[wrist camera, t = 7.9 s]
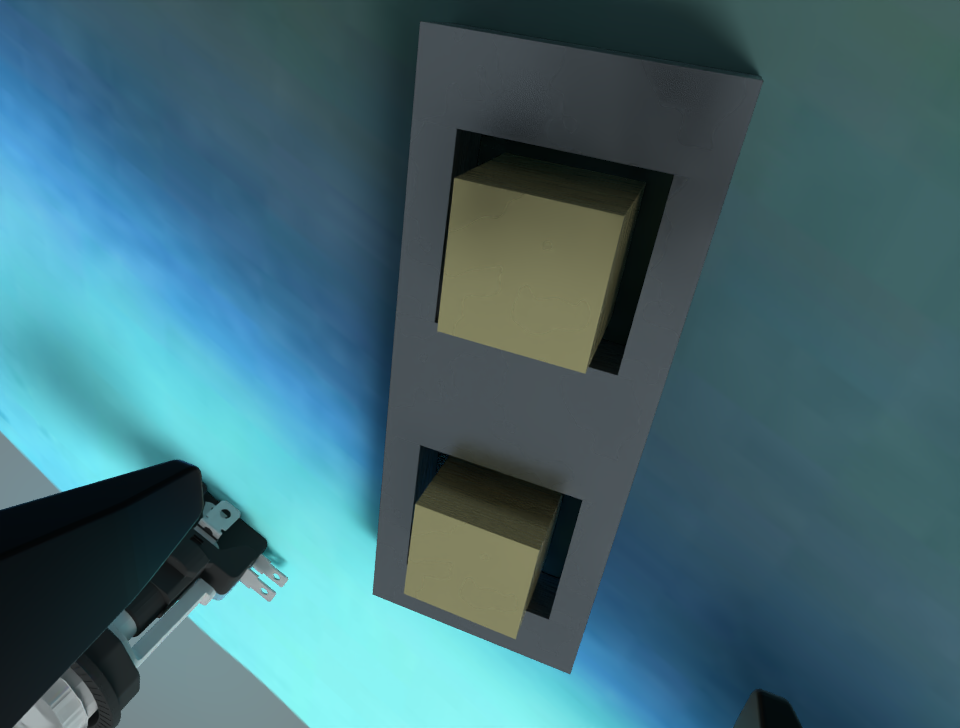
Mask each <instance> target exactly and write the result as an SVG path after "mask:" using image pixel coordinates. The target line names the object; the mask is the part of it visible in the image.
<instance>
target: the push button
mask: <svg viewBox="0 0 960 728" xmlns="http://www.w3.org/2000/svg"><path fill="white" fill-rule="evenodd" d="M202 489H203V501H204V505H203V510H202V512H201V515H200V516H199V518H198V520H197V521H196V522H195V523H194V525H193V526H192V527H191V529H190V530H189V531H188V532H187V534H186V535H185V536H184V538H183V539H182V540H181V541H180V543H179V544H178V545H177V547H176V548H175V549H174V550H173V552H172V553H171V554H170V555H169V557H168V558H167V559H166V561H165V562H164V563H163V564H162V566H161V567H160V568H159V570H158V571H157V572H156V573H155V575H154V576H153V577H152V579H151V580H150V581H149V582H148V583H147V585H146V586H145V587H144V588H143V589H142V591H141V592H140V593H139V594H138V595H137V596H136V597H135V599H134V600H133V601H132V602H131V603H130V604H129V605H128V606H127V607H126V608H125V609H124V610H123V612H122V613H121V614H120V615H119V616H118V617H117V618H116V619H115V620H114V621H113V622H112V623H111V624H110V625H109V626H108V627H107V628H106V629H105V631H104V632H103V633H102V634H101V635H100V636H99V637H98V638H97V639H96V640H95V641H94V642H93V643H92V644H91V645H90V646H89V647H88V649H87V650H86V651H85V652H84V653H83V654H82V655H81V656H80V657H79V658H78V659H77V660H76V661H75V662H74V663H73V664H72V665H71V667H70V668H69V669H68V670H67V671H66V672H65V673H64V674H63V675H62V676H61V677H60V678H59V679H58V680H57V681H56V682H55V683H54V684H53V686H52V687H51V688H50V689H49V690H48V691H47V692H46V693H45V694H44V695H43V696H42V697H41V698H40V699H39V700H38V701H37V702H36V704H35V705H34V706H33V707H32V708H31V709H30V710H29V711H28V712H27V713H26V714H25V715H24V716H23V717H22V718H21V719H20V720H19V721H18V723H17V724H16V725H15V726H14V728H115V727H116V726H117V725H118V723H119V721H120V718H121V710H122V709H123V708H124V707H125V706H126V705H127V704H128V702H129V701H130V700H131V699H132V698H133V697H134V696H135V695H136V694H137V692H138V691H139V688H140V675H139V672H138V670H137V668H138V667H139V665H140V664H141V663H142V662H143V661H144V660H145V659H146V658H147V657H148V656H149V655H150V654H151V653H152V652H153V651H154V650H155V649H156V648H157V646H158V645H160V644H161V643H162V641H163V640H164V639H165V638H166V637H167V636H168V635H169V634H170V633H171V632H172V631H173V630H174V629H175V628H176V627H177V626H178V625H179V624H180V623H181V622H182V620H184V618H185V617H186V616H187V615H188V614H189V613H190V612H191V611H192V610H193V609H194V608H195V607H196V606H197V605H198V604H199V603H201V604H202V605H207V604H208V603H209V602H210V601H211V600H212V599H215V600H221V599H223V598H224V597H225V596H226V595H227V594H228V593H229V592H230V591H231V590H232V588H233V587H234V586H235V585H236V584H237V583H238V582H239V581H240V582H242V583H243V584H244V585H245V586H247V587H248V588H250V587H251V588H252V589H253V590H255V591H256V592H257V593H258V594H260V595H261V596H262V597H263V598H265V599H266V600H267V601H269V602H270V601H271V600H272V599H273V597H274V596H275V595H276V592H275V591H274V590H272V589H271V588H270V587H269V586H268V585H266V584H265V583H264V582H263V581H261V580H260V579H259V578H258V577H259V576H258V575H257V574H256V573H255V572H253V571H252V570H251V568H252V567H253V568H255V569H256V570H257V571H258V572H260V573H261V574H263V573H264V574H265V575H266V576H268V577H269V578H270V579H271V580H272V581H274V582H275V583H276V584H277V585H279V586H280V587H283V586H284V584H285V583H286V582H287V581H288V577H286V576H285V575H284V574H283V573H281V572H280V571H279V570H278V569H277V568H275V567H274V566H273V565H272V564H270V563H271V561H270V560H269V559H267V558H266V557H265V556H264V555H262V553H263V552H264V550H265V549H266V547H267V541H266V540H265V539H264V538H263V537H262V536H260V535H259V534H258V533H257V532H256V531H254V530H253V529H252V528H251V527H249V526H248V525H247V524H246V523H244V522H243V521H242V520H241V519H239V517H240V511H239V510H238V509H236V508H235V507H234V506H233V505H231V504H230V503H229V502H228V501H221V502H219V501H217V500H216V499H215V498H214V497H212V496H211V495H210V494H209V493H207V492H206V491H207V487H206V485H205V484H204V483H203V482H202ZM274 573H275V574H278V575H279V577H280V579H276V578H275V577H274V575H273V574H274ZM261 588H265V589H266V590H267V592H268V594H266V593H264V592H262V590H261ZM178 600H179V601H178ZM177 601H178V602H177ZM176 602H177V603H176ZM175 603H176V604H175ZM174 604H175V605H174ZM173 605H174V606H173ZM171 606H173V607H172V608H171ZM170 608H171V609H170ZM169 609H170V610H169ZM168 610H169V611H168ZM167 611H168V612H167ZM166 612H167V613H166ZM165 613H166V614H165ZM164 614H165V615H164ZM163 615H164V616H163ZM162 616H163V617H162ZM160 617H162V618H161V619H160V620H159V621H158V622H157V623H156V624H155V625H154V626H153V627H152V628H151V629H150V630H149V631H148V632H147V633H146V634H145V635H144V636H143V637H142V638H141V639H140V640H139V641H138V642H137V643H136V644H135V645H134V646H133V647H132V648H131V646H130V644H129V642H128V641H129V640H130V639H131V638H132V637H136V636H138V635H139V634H140V633H141V632H143V631H144V630H145V628H147V626H149V624H151V623H152V622H153V621H154V620H155V619H156V618H160Z"/></svg>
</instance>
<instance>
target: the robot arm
mask: <svg viewBox="0 0 960 728" xmlns="http://www.w3.org/2000/svg"><path fill="white" fill-rule="evenodd" d="M203 505H204V501H203V489H202V476H201V471H200V470H199V468H198V467H197V466H194V465H192V464H189V463H187V462H184V461H182V460H172V461H168V462H165V463H161V464H158V465H154V466H151V467H147V468H144V469H140V470H137V471H134V472H130V473H127V474H123V475H120V476H116V477H113V478H109V479H106V480H102V481H99V482H95V483H92V484H89V485H85V486H82V487H78V488H75V489H71V490H68V491H64V492H61V493H57V494H54V495H51V496H47V497H44V498H40V499H37V500H33V501H30V502H27V503H23V504H19V505H16V506H12V507H9V508H6V509H2V510H0V728H12V727H14V726H15V725H16V724H17V723H18V721H19V720H20V719H21V718H22V717H23V716H24V715H25V714H26V713H27V712H28V711H29V710H30V709H31V708H32V707H33V706H34V705H35V704H36V702H37V701H38V700H39V699H40V698H41V697H42V696H43V695H44V694H45V693H46V692H47V691H48V690H49V689H50V688H51V687H52V686H53V684H54V683H55V682H56V681H57V680H58V679H59V678H60V677H61V676H62V675H63V674H64V673H65V672H66V671H67V670H68V669H69V668H70V667H71V665H72V664H73V663H74V662H75V661H76V660H77V659H78V658H79V657H80V656H81V655H82V654H83V653H84V652H85V651H86V650H87V649H88V647H89V646H90V645H91V644H92V643H93V642H94V641H95V640H96V639H97V638H98V637H99V636H100V635H101V634H102V633H103V632H104V631H105V629H106V628H107V627H108V626H109V625H110V624H111V623H112V622H113V621H114V620H115V619H116V618H117V617H118V616H119V615H120V614H121V613H122V612H123V610H124V609H125V608H126V607H127V606H128V605H129V604H130V603H131V602H132V601H133V600H134V599H135V597H136V596H137V595H138V594H139V593H140V592H141V591H142V589H143V588H144V587H145V586H146V585H147V583H148V582H149V581H150V580H151V579H152V577H153V576H154V575H155V573H156V572H157V571H158V570H159V568H160V567H161V566H162V564H163V563H164V562H165V561H166V559H167V558H168V557H169V555H170V554H171V553H172V552H173V550H174V549H175V548H176V547H177V545H178V544H179V543H180V541H181V540H182V539H183V538H184V536H185V535H186V534H187V532H188V531H189V530H190V529H191V527H192V526H193V525H194V523H195V522H196V521H197V520H198V518H199V516H200V515H201V512H202V510H203ZM733 728H802V726H801V724H800V722H799V720H798V718H797V716H796V714H795V712H794V710H793V708H792V706H791V704H790V703H789V702H788V701H787V700H786V699H785V698H783V697H780V696H778V695H775V694H773V693H770V692H767V691H765V690H762V689H755V690H754V691H753V692H752V693H751V695H750V697H749V699H748V700H747V702H746V704H745V706H744V708H743V710H742V711H741V713H740V715H739V717H738V719H737V720H736V722H735V725H734V727H733Z"/></svg>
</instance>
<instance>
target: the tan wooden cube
mask: <svg viewBox="0 0 960 728" xmlns="http://www.w3.org/2000/svg"><path fill="white" fill-rule="evenodd" d="M563 496H564V494H563V493H560V492H557V491H554V490H551V489H548V488H545V487H542V486H539V485H536V484H534V483H531V482H528V481H525V480H522V479H519V478H516V477H513V476H510V475H507V474H504V473H501V472H498V471H495V470H492V469H489V468H486V467H483V466H480V465H477V464H475V463H472V462H469V461H466V460H463V459H460V458H457V457H454V456H451V455H449V457H448V458H447V460H446V461H445V463H444V464H443V465H442V467H441V468H440V470H439V471H438V473H437V474H436V475H435V477H434V478H433V480H432V481H431V483H430V484H429V485H428V487H427V488H426V490H425V491H424V493H423V494H422V495H421V497H420V498H419V500H418V501H417V503H416V504H415V511H414V519H413V526H412V534H411V542H410V549H409V557H408V565H407V572H406V580H405V588H404V594H406V595H409V596H411V597H414V598H416V599H418V600H421V601H423V602H426V603H428V604H431V605H433V606H435V607H438V608H440V609H443V610H445V611H448V612H450V613H452V614H455V615H457V616H460V617H462V618H465V619H467V620H470V621H472V622H474V623H477V624H479V625H482V626H484V627H487V628H489V629H491V630H494V631H496V632H499V633H501V634H504V635H506V636H508V637H511V638H513V639H516V637H517V634H518V632H519V629H520V626H521V624H522V621H523V618H524V616H525V613H526V610H527V608H528V605H529V602H530V600H531V597H532V595H533V592H534V589H535V587H536V584H537V581H538V579H539V576H540V573H541V571H542V568H543V565H544V563H545V560H546V557H547V554H548V550H549V546H550V543H551V539H552V536H553V532H554V528H555V525H556V521H557V517H558V514H559V510H560V507H561V503H562V499H563Z"/></svg>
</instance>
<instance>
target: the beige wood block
mask: <svg viewBox="0 0 960 728" xmlns="http://www.w3.org/2000/svg"><path fill="white" fill-rule="evenodd" d="M645 186H646V182H643V181H638V180H633V179H628V178H624V177H619V176H614V175H609V174H605V173H600V172H595V171H590V170H586V169H581V168H576V167H571V166H567V165H562V164H557V163H552V162H548V161H543V160H538V159H534V158H529V157H524V156H519V155H515V154H510V153H504V154H502V155H500V156H498V157H496V158H494V159H492V160H490V161H488V162H486V163H484V164H482V165H480V166H478V167H476V168H474V169H472V170H469V171H467V172H465V173H463V174H461V175H459V176H457V177H455V178H454V185H453V194H452V203H451V212H450V221H449V230H448V239H447V248H446V257H445V265H444V274H443V283H442V292H441V301H440V310H439V319H438V328H437V331H438V332H442V333H445V334H449V335H452V336H456V337H459V338H463V339H466V340H470V341H473V342H477V343H480V344H484V345H487V346H491V347H494V348H497V349H501V350H504V351H508V352H511V353H515V354H518V355H522V356H525V357H529V358H532V359H536V360H539V361H543V362H546V363H550V364H553V365H557V366H560V367H564V368H567V369H571V370H574V371H578V372H581V373H584V374H585V373H586V371H587V369H588V367H589V365H590V363H591V361H592V358H593V356H594V354H595V352H596V350H597V348H598V345H599V343H600V341H601V339H602V337H603V335H604V333H605V330H606V328H607V326H608V324H609V322H610V320H611V317H612V314H613V310H614V306H615V303H616V299H617V295H618V291H619V287H620V283H621V279H622V275H623V271H624V267H625V264H626V260H627V256H628V252H629V248H630V244H631V240H632V236H633V232H634V228H635V225H636V221H637V217H638V213H639V209H640V205H641V201H642V197H643V193H644V189H645Z"/></svg>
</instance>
